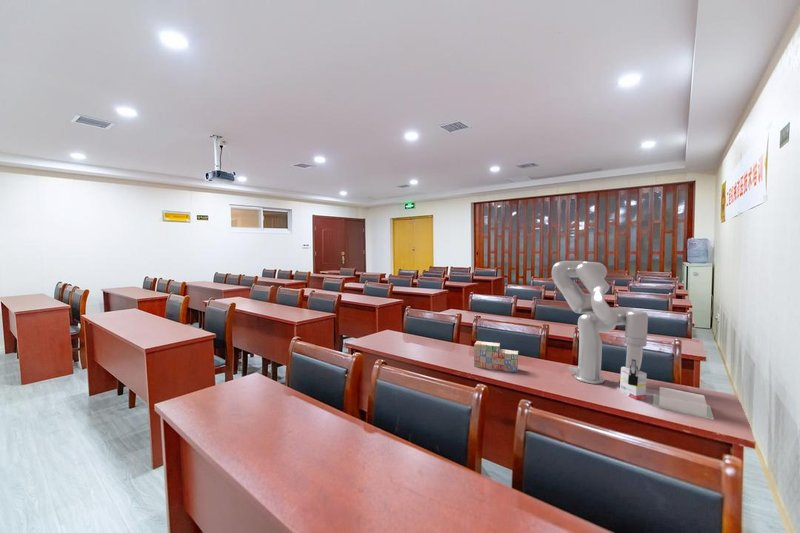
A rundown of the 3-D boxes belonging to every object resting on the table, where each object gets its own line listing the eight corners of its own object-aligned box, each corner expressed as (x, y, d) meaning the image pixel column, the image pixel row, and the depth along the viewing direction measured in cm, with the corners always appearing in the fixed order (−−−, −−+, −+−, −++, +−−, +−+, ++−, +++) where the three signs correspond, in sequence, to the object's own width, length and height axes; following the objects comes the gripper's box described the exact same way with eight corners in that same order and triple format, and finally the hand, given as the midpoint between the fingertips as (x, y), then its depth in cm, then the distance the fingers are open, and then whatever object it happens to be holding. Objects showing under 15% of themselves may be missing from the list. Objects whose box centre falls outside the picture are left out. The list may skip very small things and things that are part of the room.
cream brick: (659, 406, 138) (659, 396, 138) (659, 396, 148) (659, 386, 148) (706, 416, 130) (707, 406, 130) (703, 405, 140) (704, 395, 140)
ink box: (646, 401, 145) (647, 373, 144) (635, 402, 144) (637, 373, 143) (629, 392, 153) (630, 365, 153) (619, 393, 152) (620, 366, 152)
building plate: (652, 408, 139) (652, 405, 139) (653, 396, 150) (653, 394, 150) (713, 422, 128) (714, 419, 128) (709, 408, 139) (709, 405, 139)
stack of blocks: (518, 369, 182) (518, 345, 181) (517, 373, 176) (517, 348, 175) (475, 363, 190) (476, 340, 189) (473, 366, 184) (474, 343, 184)
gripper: (626, 335, 156) (624, 373, 157) (623, 343, 142) (620, 385, 143) (647, 338, 152) (645, 377, 153) (645, 347, 138) (643, 390, 139)
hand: (633, 381), depth 148 cm, fingers closed on ink box, 9 cm apart
